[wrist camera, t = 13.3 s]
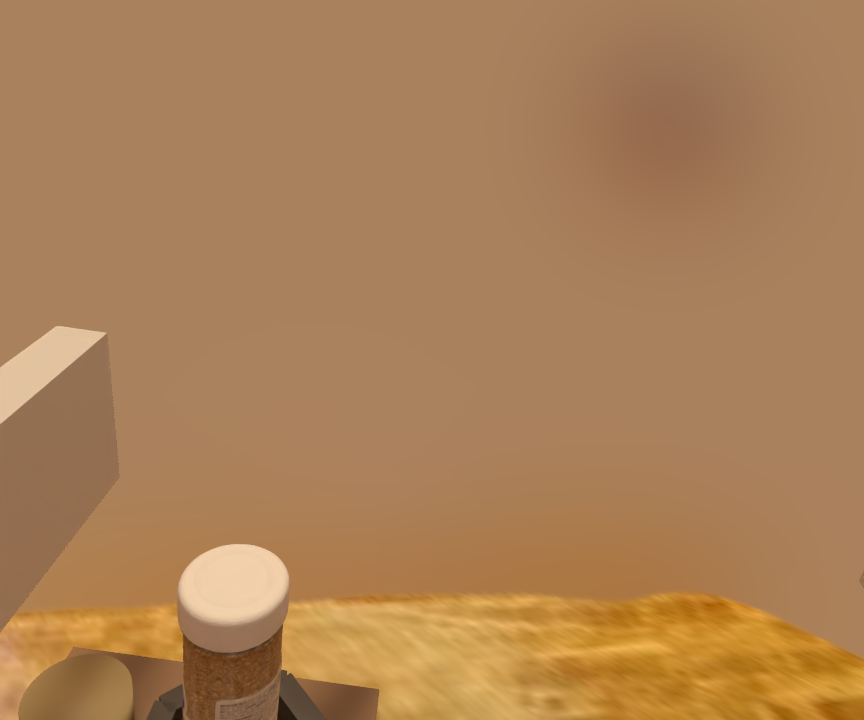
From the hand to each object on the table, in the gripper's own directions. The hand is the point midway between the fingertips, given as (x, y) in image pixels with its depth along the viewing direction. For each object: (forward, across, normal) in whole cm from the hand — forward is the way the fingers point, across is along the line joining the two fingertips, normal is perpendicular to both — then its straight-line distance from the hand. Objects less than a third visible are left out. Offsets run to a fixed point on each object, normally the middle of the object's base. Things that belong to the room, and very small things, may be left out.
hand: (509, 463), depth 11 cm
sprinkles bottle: (+11, -8, -29) cm, 32 cm away
